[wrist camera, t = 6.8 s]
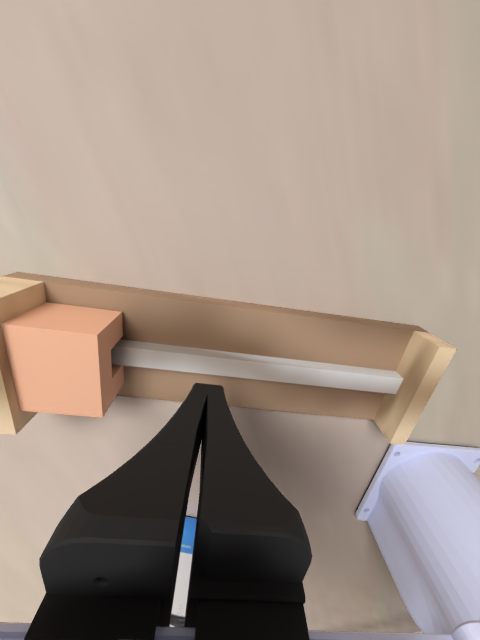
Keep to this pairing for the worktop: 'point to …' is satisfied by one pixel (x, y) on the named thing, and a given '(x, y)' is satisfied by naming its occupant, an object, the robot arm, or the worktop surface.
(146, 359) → the rail board
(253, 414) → the worktop surface
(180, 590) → the ink box
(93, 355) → the block
